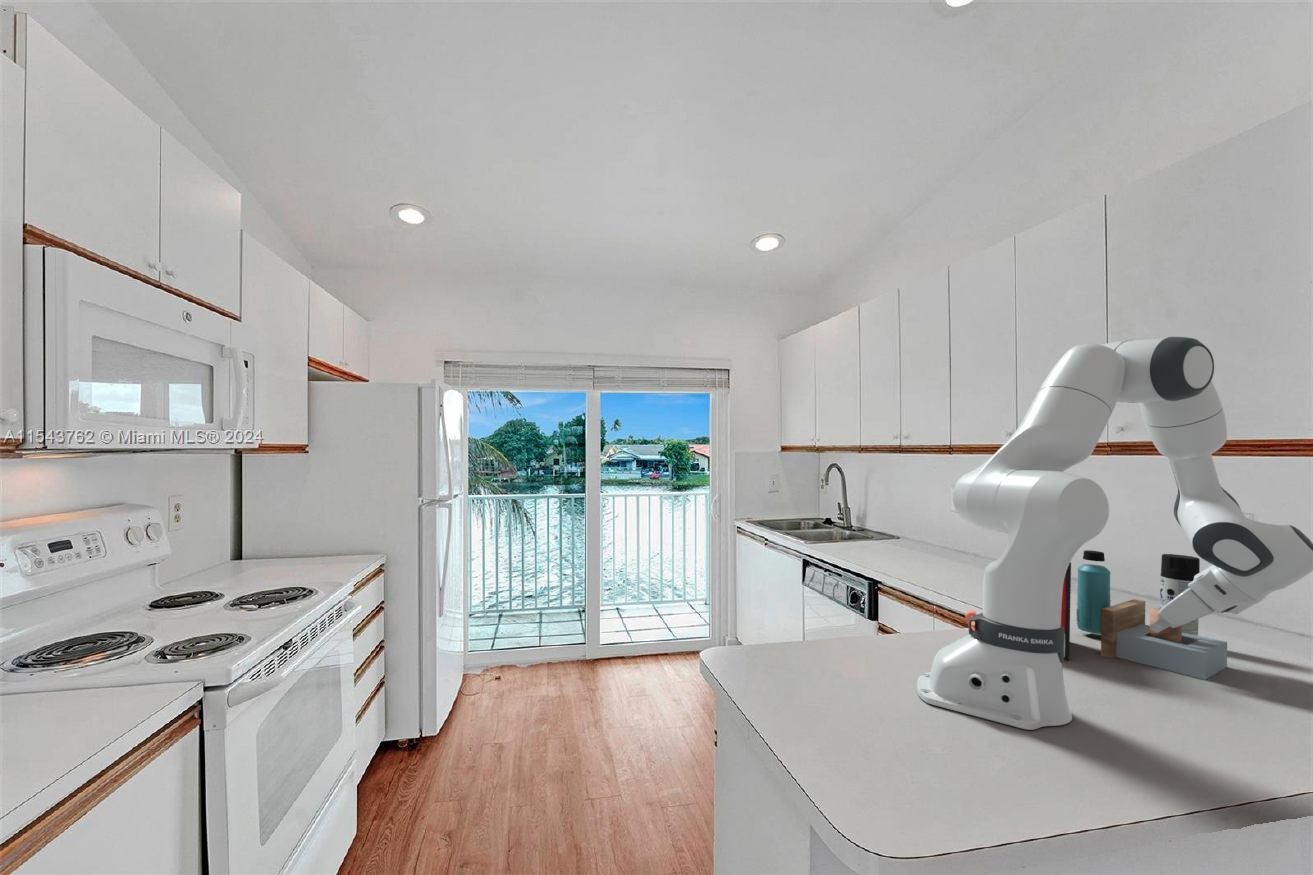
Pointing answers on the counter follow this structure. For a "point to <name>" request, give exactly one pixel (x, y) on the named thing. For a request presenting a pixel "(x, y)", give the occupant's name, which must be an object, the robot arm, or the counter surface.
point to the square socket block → (1173, 652)
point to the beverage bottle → (1092, 593)
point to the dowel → (1167, 633)
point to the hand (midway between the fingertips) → (1159, 626)
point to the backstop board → (1119, 623)
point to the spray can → (1178, 581)
